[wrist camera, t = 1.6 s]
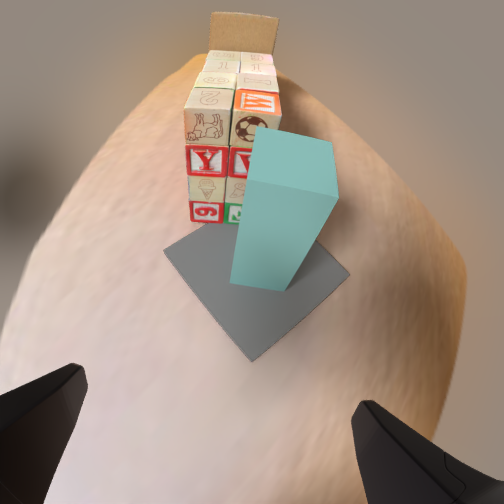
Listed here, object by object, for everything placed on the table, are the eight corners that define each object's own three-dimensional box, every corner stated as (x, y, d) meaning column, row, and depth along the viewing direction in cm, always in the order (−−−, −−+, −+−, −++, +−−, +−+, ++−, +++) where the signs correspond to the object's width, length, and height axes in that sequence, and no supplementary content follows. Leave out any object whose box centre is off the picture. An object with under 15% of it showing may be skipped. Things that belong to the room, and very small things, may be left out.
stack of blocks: (214, 106, 37) (219, 29, 27) (257, 110, 38) (270, 34, 27) (189, 223, 26) (182, 105, 16) (257, 228, 27) (283, 112, 16)
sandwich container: (263, 72, 46) (277, 3, 33) (262, 109, 39) (281, 18, 26) (219, 66, 46) (226, -3, 33) (204, 103, 38) (211, 11, 25)
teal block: (284, 291, 24) (339, 197, 14) (229, 283, 24) (246, 179, 13) (287, 245, 26) (331, 142, 16) (237, 236, 26) (256, 126, 16)
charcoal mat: (347, 276, 26) (349, 274, 26) (251, 362, 21) (252, 361, 21) (263, 193, 30) (264, 190, 29) (164, 252, 25) (163, 250, 24)
